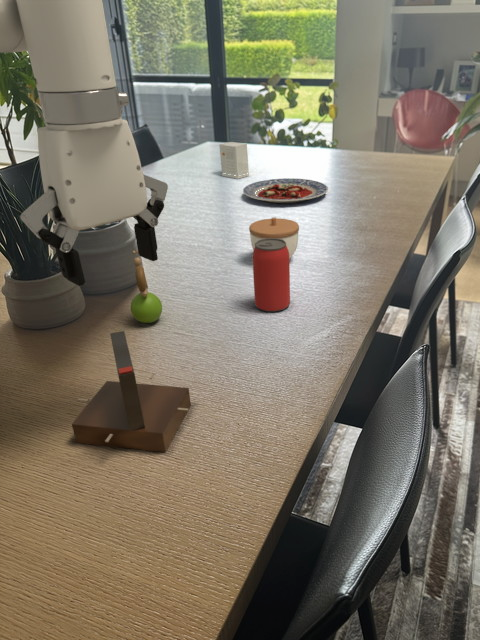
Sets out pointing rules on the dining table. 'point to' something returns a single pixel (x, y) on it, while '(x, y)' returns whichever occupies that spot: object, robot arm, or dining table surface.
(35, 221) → the robot arm
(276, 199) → the ceramic plate
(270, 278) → the beer can
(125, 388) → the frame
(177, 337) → the dining table surface
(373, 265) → the dining table surface
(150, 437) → the frame stand
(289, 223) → the trinket box
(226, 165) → the small box
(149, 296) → the green ball on stick
